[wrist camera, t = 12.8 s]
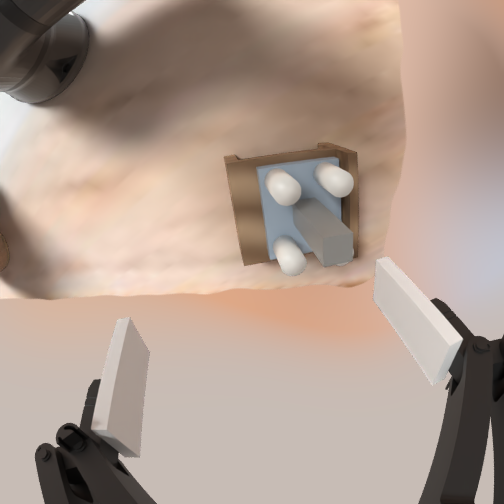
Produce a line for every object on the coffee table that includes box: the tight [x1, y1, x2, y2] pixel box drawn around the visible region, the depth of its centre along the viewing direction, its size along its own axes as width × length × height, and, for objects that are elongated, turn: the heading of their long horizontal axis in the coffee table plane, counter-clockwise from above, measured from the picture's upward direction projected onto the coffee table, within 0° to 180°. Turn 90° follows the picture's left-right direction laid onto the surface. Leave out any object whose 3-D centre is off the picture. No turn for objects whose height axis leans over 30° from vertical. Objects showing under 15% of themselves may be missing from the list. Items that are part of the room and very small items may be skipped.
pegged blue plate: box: [256, 157, 354, 276], centre depth 32 cm, size 12×10×12 cm
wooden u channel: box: [224, 143, 359, 266], centre depth 39 cm, size 14×15×10 cm
